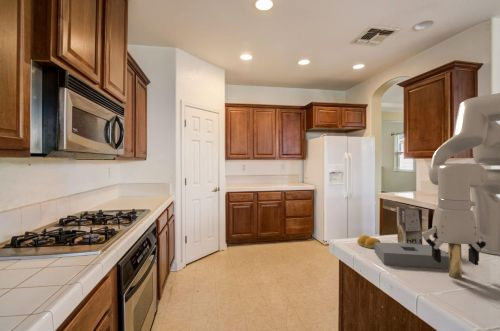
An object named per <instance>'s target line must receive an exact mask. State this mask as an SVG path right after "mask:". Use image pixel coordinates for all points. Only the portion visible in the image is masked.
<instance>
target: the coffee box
mask: <svg viewBox="0 0 500 331" xmlns="http://www.w3.org/2000/svg"><path fill="white" fill-rule="evenodd" d="M396 230H397V232H396V234H397V243H401V244H421V245H423V236H422V232H423V209H421V208H418V207H417V206H416V207H415V206H413V205H402V206H401V205H397V206H396Z"/></svg>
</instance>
